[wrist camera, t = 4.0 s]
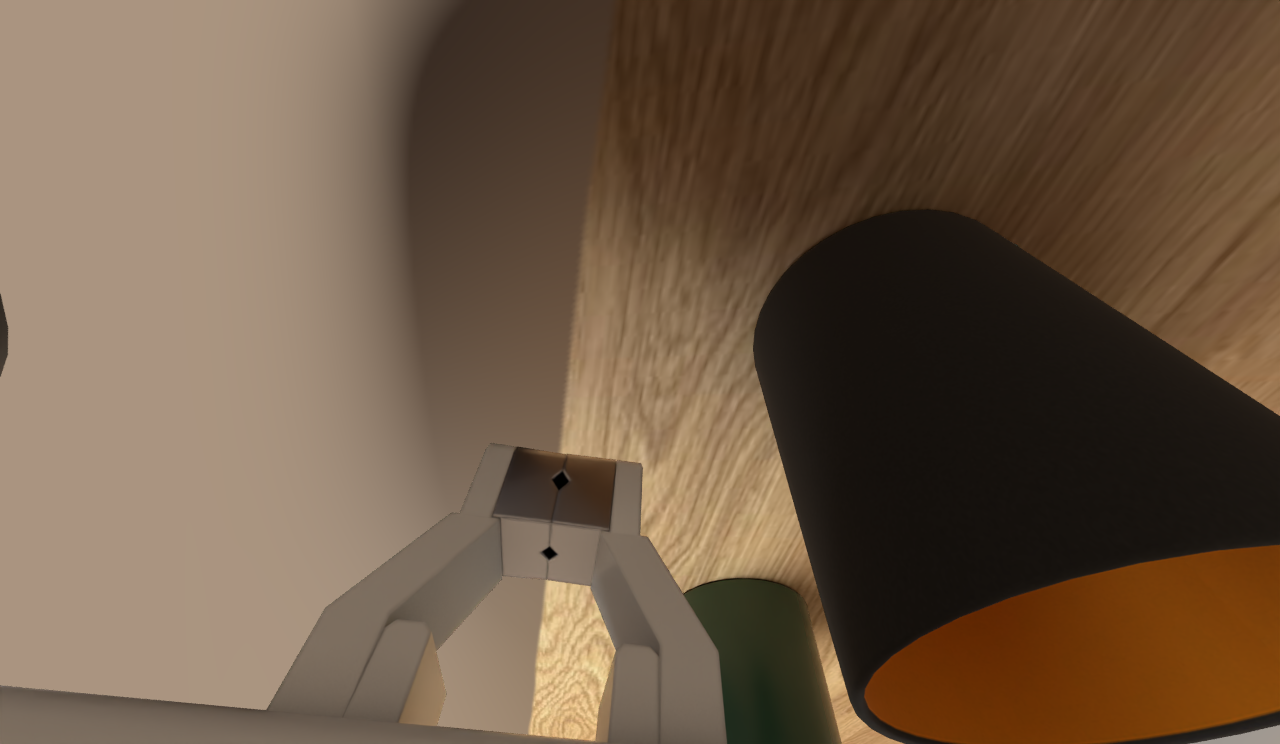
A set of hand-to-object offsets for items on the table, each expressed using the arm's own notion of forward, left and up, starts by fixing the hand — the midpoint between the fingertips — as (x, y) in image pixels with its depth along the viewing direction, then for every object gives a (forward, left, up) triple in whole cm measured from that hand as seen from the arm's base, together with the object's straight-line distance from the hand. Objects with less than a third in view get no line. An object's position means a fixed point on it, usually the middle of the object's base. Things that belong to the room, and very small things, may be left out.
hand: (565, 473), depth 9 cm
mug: (+9, +7, -8) cm, 13 cm away
